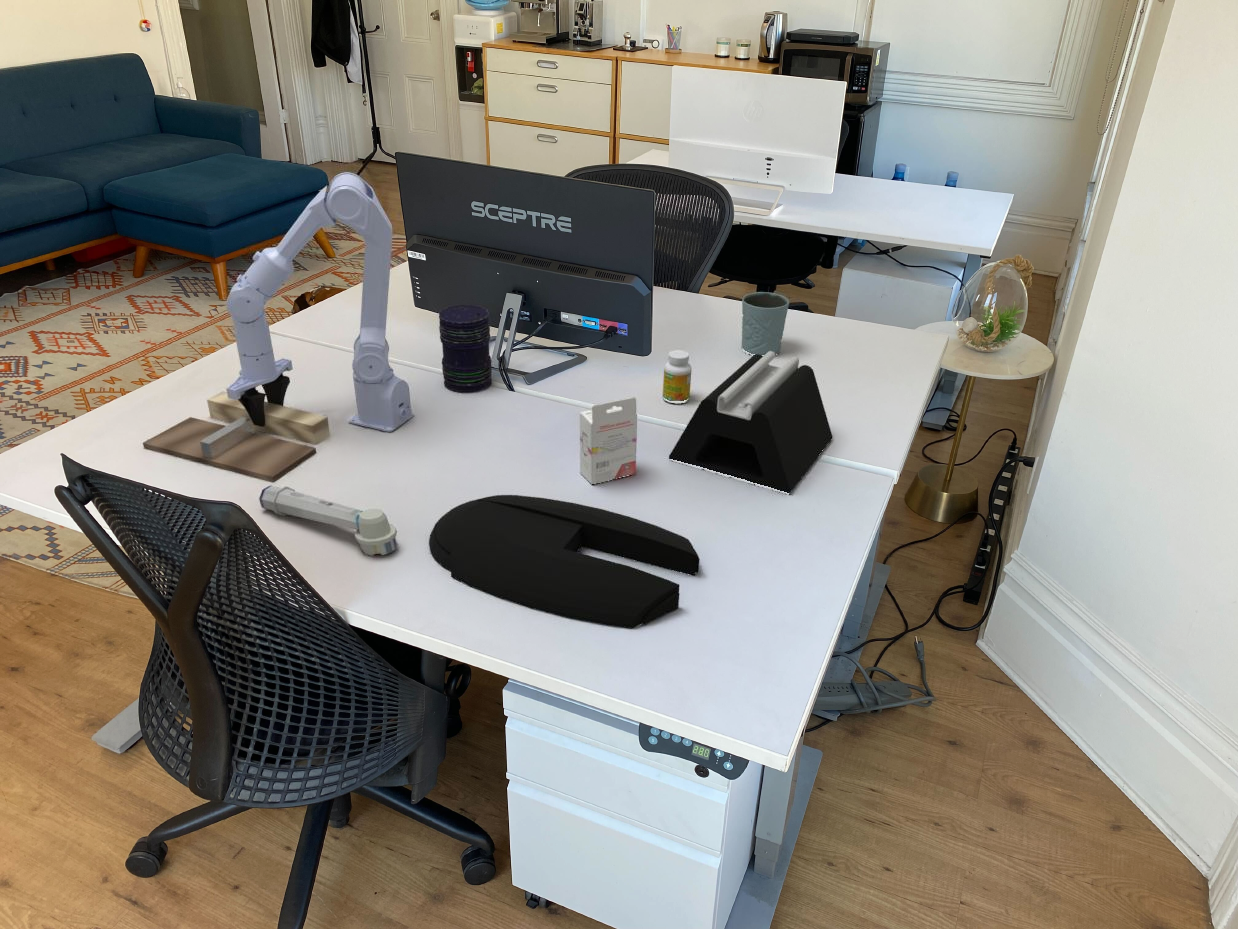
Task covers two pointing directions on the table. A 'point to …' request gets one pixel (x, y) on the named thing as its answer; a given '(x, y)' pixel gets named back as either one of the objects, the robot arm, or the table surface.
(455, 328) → the storage jar
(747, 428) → the device stand
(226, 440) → the ridge
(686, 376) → the supplement bottle
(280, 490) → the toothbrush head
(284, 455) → the board
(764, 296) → the embossed green cup
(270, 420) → the beech rod
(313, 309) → the table surface
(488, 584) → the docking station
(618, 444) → the ink cartridge box
